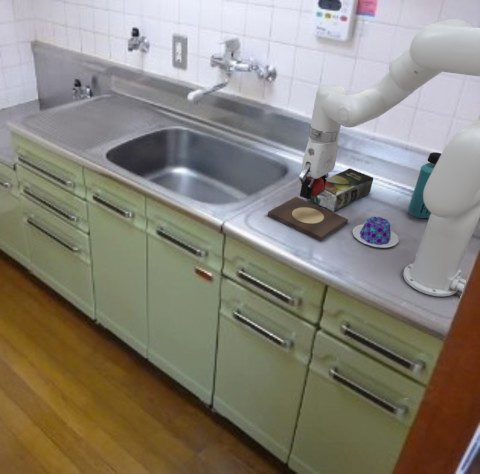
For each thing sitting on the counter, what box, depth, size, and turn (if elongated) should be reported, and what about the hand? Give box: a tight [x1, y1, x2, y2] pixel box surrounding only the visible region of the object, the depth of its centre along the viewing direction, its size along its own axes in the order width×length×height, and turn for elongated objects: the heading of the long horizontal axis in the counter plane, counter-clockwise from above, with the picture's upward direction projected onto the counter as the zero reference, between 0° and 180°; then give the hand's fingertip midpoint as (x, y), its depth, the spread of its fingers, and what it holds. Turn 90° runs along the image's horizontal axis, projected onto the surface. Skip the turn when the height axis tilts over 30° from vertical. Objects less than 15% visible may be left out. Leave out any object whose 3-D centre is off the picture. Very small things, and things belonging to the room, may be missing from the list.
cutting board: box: [267, 196, 349, 242], centre depth 153 cm, size 18×14×2 cm
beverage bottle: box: [407, 151, 442, 219], centre depth 151 cm, size 6×7×20 cm
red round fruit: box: [307, 176, 324, 198], centre depth 148 cm, size 6×6×8 cm
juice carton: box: [309, 167, 374, 213], centre depth 164 cm, size 20×10×6 cm, turn 129°
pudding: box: [352, 216, 399, 249], centre depth 145 cm, size 12×12×5 cm
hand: (312, 193), depth 149 cm, fingers closed on red round fruit, 6 cm apart
